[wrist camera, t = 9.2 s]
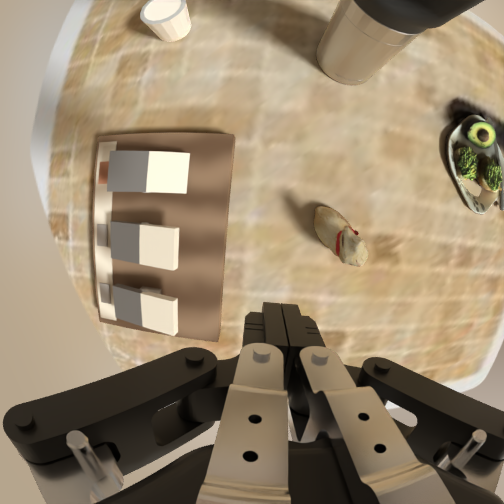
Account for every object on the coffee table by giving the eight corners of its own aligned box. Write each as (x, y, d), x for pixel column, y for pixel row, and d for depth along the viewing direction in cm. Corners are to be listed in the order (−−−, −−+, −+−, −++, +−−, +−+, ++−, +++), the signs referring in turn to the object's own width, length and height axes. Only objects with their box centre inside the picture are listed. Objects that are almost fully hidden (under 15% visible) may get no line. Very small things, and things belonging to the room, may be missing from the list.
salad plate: (513, 188, 35) (527, 190, 31) (473, 237, 38) (489, 242, 33) (477, 105, 32) (491, 101, 28) (432, 143, 35) (448, 140, 30)
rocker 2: (119, 281, 36) (112, 285, 34) (179, 296, 34) (173, 300, 32) (122, 313, 37) (115, 318, 36) (179, 331, 35) (174, 336, 34)
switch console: (107, 139, 35) (92, 134, 31) (235, 138, 35) (232, 131, 31) (107, 314, 42) (95, 325, 37) (220, 332, 42) (216, 347, 37)
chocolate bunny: (318, 261, 39) (337, 284, 29) (310, 207, 37) (329, 213, 28) (353, 254, 39) (381, 274, 29) (347, 201, 37) (375, 206, 27)
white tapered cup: (194, 40, 32) (184, 17, 25) (153, 48, 32) (137, 29, 25) (195, 11, 30) (187, -13, 23) (155, 19, 30) (142, -2, 23)
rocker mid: (118, 219, 34) (110, 220, 32) (181, 226, 32) (174, 227, 30) (118, 256, 35) (110, 258, 33) (179, 267, 33) (173, 271, 32)
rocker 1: (112, 151, 29) (110, 149, 28) (188, 153, 33) (190, 152, 31) (109, 191, 30) (106, 192, 29) (185, 193, 34) (186, 194, 32)
